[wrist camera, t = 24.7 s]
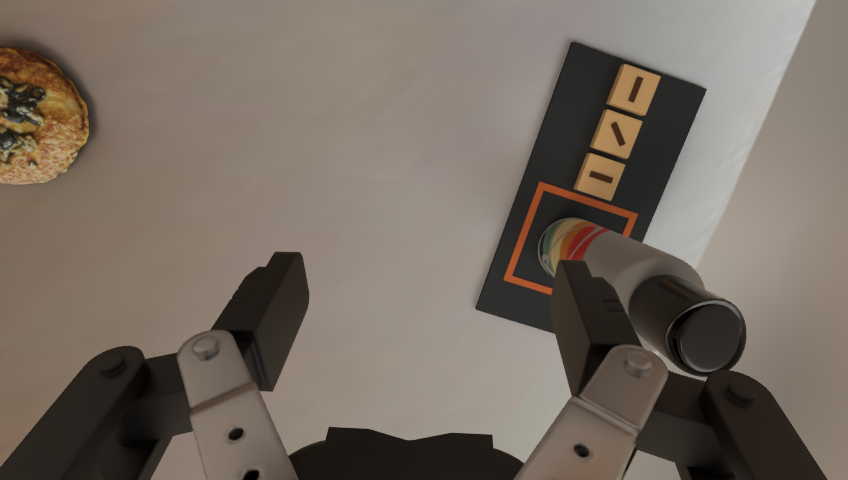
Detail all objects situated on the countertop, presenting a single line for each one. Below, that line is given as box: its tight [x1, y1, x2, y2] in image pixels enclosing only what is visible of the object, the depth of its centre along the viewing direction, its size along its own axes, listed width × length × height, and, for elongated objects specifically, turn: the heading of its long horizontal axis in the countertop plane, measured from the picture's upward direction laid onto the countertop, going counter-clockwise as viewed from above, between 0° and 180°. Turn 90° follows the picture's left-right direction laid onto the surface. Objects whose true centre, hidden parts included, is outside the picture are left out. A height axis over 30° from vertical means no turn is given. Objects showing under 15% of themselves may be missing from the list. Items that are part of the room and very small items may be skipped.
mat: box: [476, 42, 707, 334], centre depth 39 cm, size 24×12×1 cm, turn 162°
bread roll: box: [0, 46, 89, 185], centre depth 36 cm, size 11×11×5 cm
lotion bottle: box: [538, 218, 746, 377], centre depth 30 cm, size 6×6×20 cm
